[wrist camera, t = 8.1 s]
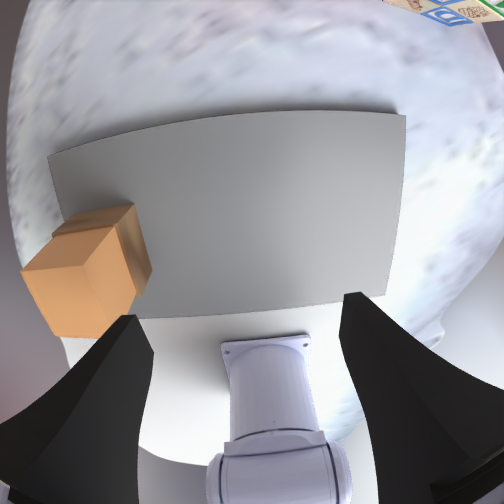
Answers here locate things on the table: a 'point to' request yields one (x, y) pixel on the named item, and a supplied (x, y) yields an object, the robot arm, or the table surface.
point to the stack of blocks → (455, 10)
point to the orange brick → (81, 283)
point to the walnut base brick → (127, 235)
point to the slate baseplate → (250, 206)
